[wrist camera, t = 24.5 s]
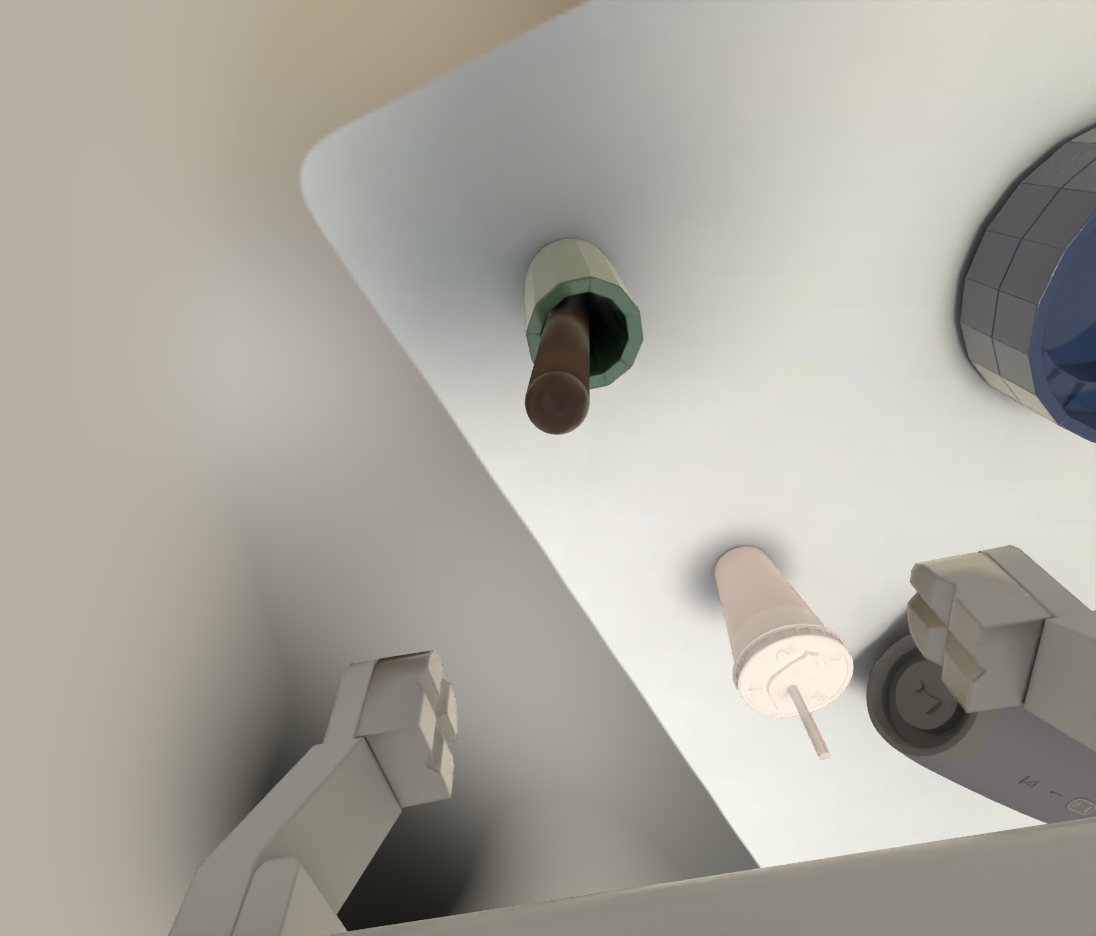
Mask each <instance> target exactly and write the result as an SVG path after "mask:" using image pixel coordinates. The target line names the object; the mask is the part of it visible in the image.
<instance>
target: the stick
mask: <svg viewBox="0 0 1096 936" xmlns="http://www.w3.org/2000/svg"><path fill="white" fill-rule="evenodd" d="M525 407H526V412H527V415H528V417H529V418H530V420H531V422H532V423H533V424H534V425H535V426H536V427H537V428H539V429H540V430H542V431H544V432H546V433H549V434H555V435H559V434H565V433H568V432H571V431H573V430H574V429H576V428H577V427H578V426H579V425H580V424H581V423H582V422H583V421H584V419H585V418H586V415H587V413H588V409H589V292H587V293H582V294H577V295H572V296H568V297H565V298H564V299H563V300H562V301H561V302H560V303H559V304H557V305H556V306H555V307H554V308H553V309H552V310H551V311H549V312H548V315H547V318H546V322H545V325H544V329H543V333H542V336H541V340H540V344H539V348H538V351H537V355H536V359H535V363H534V366H533V370H532V374H531V378H530V381H529V385H528V389H527V393H526V397H525Z"/></svg>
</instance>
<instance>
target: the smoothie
mask: <svg viewBox="0 0 1096 936" xmlns="http://www.w3.org/2000/svg"><path fill="white" fill-rule="evenodd" d="M715 578H716V583H717V587H718V591H719V596H720V600H721V605H722V609H723V613H724V618H725V622H726V627H727V631H728V636H729V640H730V644H731V649H732V654H733V658H734V662H735V664H734V666H733V681H734V684H735V686H736V689H737V690H738V692H739V695H740V697H741V699H742V701H743V702H744V703H745V704H746V705H747V706H748V707H749V708H750V709H752V710H753V711H755V712H757V713H760V714H762V715H766V716H770V717H779V718H786V717H796V716H800V718H801V720H802V722H803V724H804V726H805V728H806V730H807V733H808V735H809V737H810V739H811V741H812V743H813V746H814V748H815V750H816V752H817V754H818V756H819V758H820V759H821V760H826V759H828V758H829V757H830V753H829V751H828V748H827V746H826V744H825V742H824V740H823V738H822V736H821V734H820V732H819V730H818V728H817V726H816V724H815V722H814V720H813V718H812V716H811V713H812V712H814V711H817V710H819V709H821V708H823V707H825V706H826V705H828V704H829V703H831V702H832V701H834V700H835V699H836V698H837V697H838V696H839V695H841V693H842V692H843V691H844V690H845V688H846V687H847V686H848V684H849V682H850V680H851V677H852V674H853V660H852V657H851V655H850V653H849V651H848V650H847V647H846V644H845V642H844V641H843V640H842V638H841V637H840V636H839V634H837V633H835V632H834V631H832V630H831V629H829V628H827V627H825V626H824V625H823V624H822V622H821V621H820V620H819V619H818V617H817V616H816V615H815V614H814V613H813V612H812V610H811V609H810V608H809V607H808V605H807V604H806V603H805V602H804V601H803V599H802V598H801V597H800V596H799V594H798V593H797V592H796V591H795V590H794V588H793V587H792V586H791V585H790V583H789V582H788V581H787V580H786V578H785V577H784V576H783V575H782V574H781V572H780V571H779V570H778V569H777V567H776V566H775V565H774V564H773V563H772V561H771V560H770V559H769V558H768V556H767V555H766V554H765V553H764V552H763V551H762V550H760V549H758V548H756V547H751V546H742V547H737V548H734V549H732V550H730V551H728V552H726V553H725V554H724V555H723V556H722V557H721V558H720V559H719V560H718V562H717V563H716V566H715Z"/></svg>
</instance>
